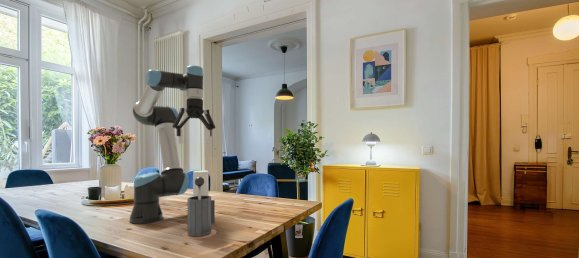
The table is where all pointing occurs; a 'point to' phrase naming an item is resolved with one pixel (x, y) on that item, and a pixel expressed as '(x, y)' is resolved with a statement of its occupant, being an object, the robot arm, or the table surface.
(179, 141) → the robot arm
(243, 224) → the table surface
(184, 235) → the trivet
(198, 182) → the plunger
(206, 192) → the white slotted column
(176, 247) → the table surface
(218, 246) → the table surface
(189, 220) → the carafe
